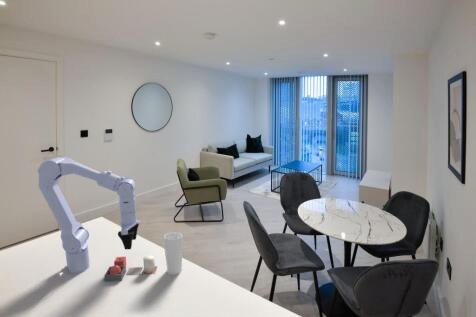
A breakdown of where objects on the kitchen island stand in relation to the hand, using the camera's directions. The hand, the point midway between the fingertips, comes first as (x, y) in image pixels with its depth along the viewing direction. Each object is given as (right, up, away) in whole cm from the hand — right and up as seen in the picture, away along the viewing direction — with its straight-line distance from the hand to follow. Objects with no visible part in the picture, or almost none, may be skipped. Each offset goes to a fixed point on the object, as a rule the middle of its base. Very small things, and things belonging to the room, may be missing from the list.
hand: (130, 244), depth 115 cm
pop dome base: (-3, -10, -6) cm, 12 cm away
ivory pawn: (+8, -9, -2) cm, 12 cm away
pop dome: (-3, -9, -6) cm, 12 cm away
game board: (+2, -10, -3) cm, 11 cm away
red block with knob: (-4, -9, 0) cm, 10 cm away
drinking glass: (+18, -10, -2) cm, 20 cm away
